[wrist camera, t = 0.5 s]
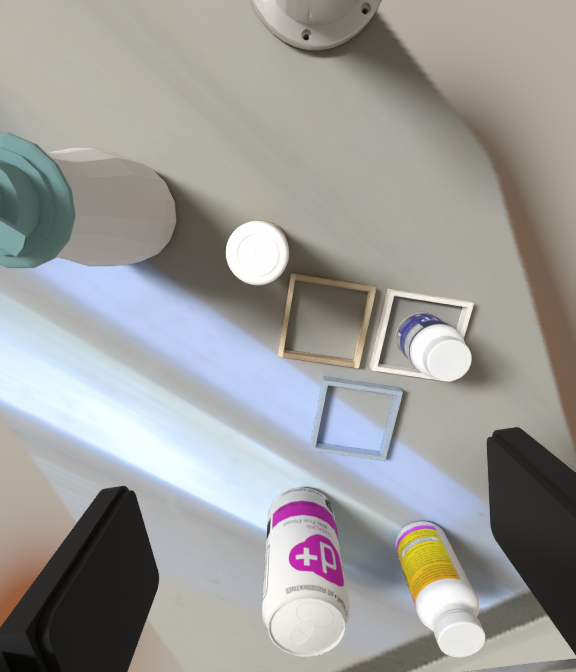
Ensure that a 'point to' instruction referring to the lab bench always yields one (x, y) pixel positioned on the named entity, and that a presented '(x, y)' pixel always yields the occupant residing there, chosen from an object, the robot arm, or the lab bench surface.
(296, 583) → the supplement can
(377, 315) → the lab bench surface
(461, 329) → the tray white
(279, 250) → the sprinkles bottle
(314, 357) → the tray birch
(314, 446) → the tray slate
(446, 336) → the pill bottle
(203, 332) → the lab bench surface
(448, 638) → the supplement bottle
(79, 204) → the soap bottle
